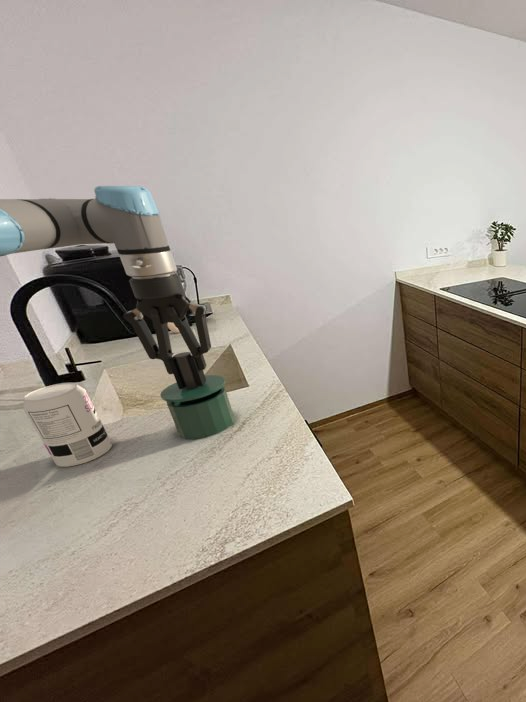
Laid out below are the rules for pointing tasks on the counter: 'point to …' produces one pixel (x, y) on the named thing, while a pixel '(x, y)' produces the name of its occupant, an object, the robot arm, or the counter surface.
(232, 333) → the counter surface
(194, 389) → the lid
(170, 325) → the egg
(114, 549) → the counter surface
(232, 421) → the pot
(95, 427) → the supplement can
